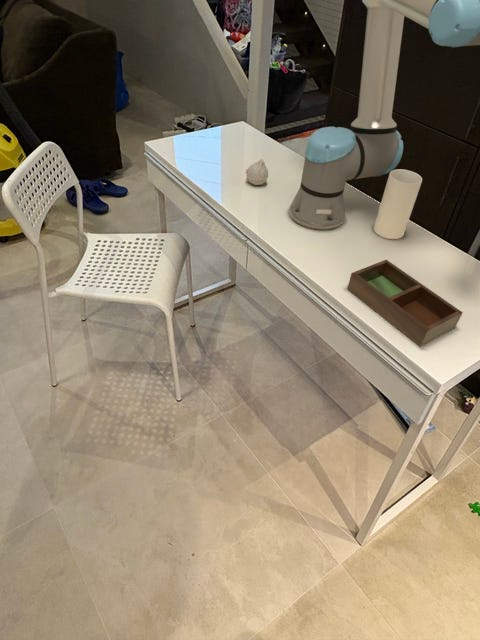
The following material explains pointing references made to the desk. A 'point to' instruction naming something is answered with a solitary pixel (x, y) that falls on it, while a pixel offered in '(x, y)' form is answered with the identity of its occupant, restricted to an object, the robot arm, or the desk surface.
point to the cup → (397, 203)
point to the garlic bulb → (257, 173)
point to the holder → (404, 302)
